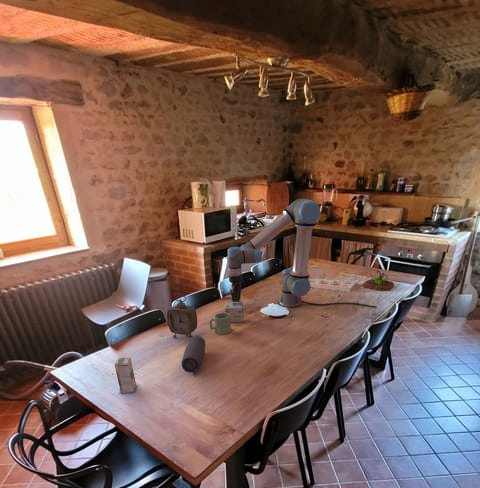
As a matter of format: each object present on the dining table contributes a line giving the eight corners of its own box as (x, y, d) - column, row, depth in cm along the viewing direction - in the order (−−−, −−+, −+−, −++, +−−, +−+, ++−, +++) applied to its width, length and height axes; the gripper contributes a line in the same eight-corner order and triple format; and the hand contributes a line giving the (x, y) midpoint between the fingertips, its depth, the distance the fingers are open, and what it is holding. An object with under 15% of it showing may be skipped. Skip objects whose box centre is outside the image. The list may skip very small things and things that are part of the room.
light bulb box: (244, 315, 221) (243, 301, 213) (243, 322, 216) (242, 308, 209) (227, 315, 222) (225, 301, 215) (225, 322, 218) (224, 308, 210)
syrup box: (123, 386, 160) (116, 357, 153) (136, 385, 160) (130, 356, 153) (120, 393, 155) (113, 364, 148) (134, 392, 155) (127, 363, 148)
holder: (291, 284, 276) (291, 281, 275) (300, 278, 289) (300, 274, 288) (349, 291, 255) (350, 288, 254) (356, 284, 268) (357, 281, 267)
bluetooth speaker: (189, 352, 185) (187, 334, 180) (207, 351, 185) (205, 334, 180) (181, 375, 166) (178, 356, 161) (201, 375, 165) (199, 355, 160)
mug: (229, 327, 211) (228, 312, 206) (231, 333, 204) (230, 317, 199) (209, 329, 210) (208, 314, 205) (211, 335, 202) (209, 319, 197)
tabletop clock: (170, 338, 201) (163, 295, 189) (178, 332, 208) (172, 290, 196) (193, 341, 196) (188, 297, 184) (200, 334, 204) (195, 292, 192)
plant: (369, 280, 275) (371, 266, 270) (396, 284, 265) (398, 269, 259) (360, 288, 261) (362, 272, 256) (388, 292, 251) (390, 276, 245)
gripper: (233, 271, 217) (235, 308, 228) (225, 277, 206) (227, 315, 218) (245, 272, 214) (246, 309, 226) (237, 278, 204) (239, 317, 215)
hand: (237, 312), depth 222 cm, fingers closed
